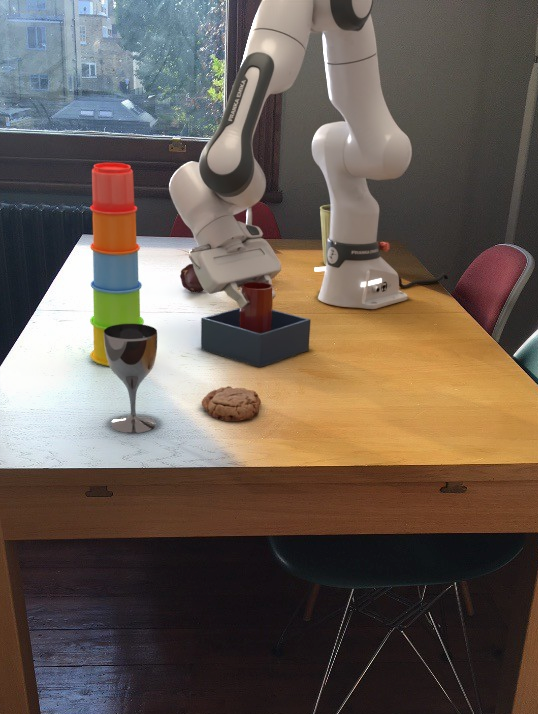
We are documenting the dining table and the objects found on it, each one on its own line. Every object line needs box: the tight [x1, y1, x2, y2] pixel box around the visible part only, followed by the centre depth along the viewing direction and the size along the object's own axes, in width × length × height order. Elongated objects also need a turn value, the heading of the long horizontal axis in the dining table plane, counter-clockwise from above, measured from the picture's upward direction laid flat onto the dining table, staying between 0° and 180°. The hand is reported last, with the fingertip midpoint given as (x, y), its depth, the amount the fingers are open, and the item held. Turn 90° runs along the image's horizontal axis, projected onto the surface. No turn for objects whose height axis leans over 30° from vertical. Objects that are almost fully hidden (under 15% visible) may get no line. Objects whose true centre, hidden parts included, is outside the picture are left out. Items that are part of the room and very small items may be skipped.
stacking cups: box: [89, 162, 145, 367], centre depth 158 cm, size 10×10×35 cm
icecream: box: [179, 263, 205, 293], centre depth 211 cm, size 7×7×15 cm
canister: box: [239, 282, 275, 334], centre depth 170 cm, size 6×6×9 cm
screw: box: [245, 206, 253, 225], centre depth 257 cm, size 13×5×5 cm
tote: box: [200, 307, 312, 368], centre depth 172 cm, size 15×15×6 cm
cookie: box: [201, 385, 262, 422], centre depth 144 cm, size 10×11×3 cm
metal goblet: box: [104, 324, 158, 434], centre depth 135 cm, size 8×8×15 cm
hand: (259, 302), depth 169 cm, fingers closed on canister, 6 cm apart
